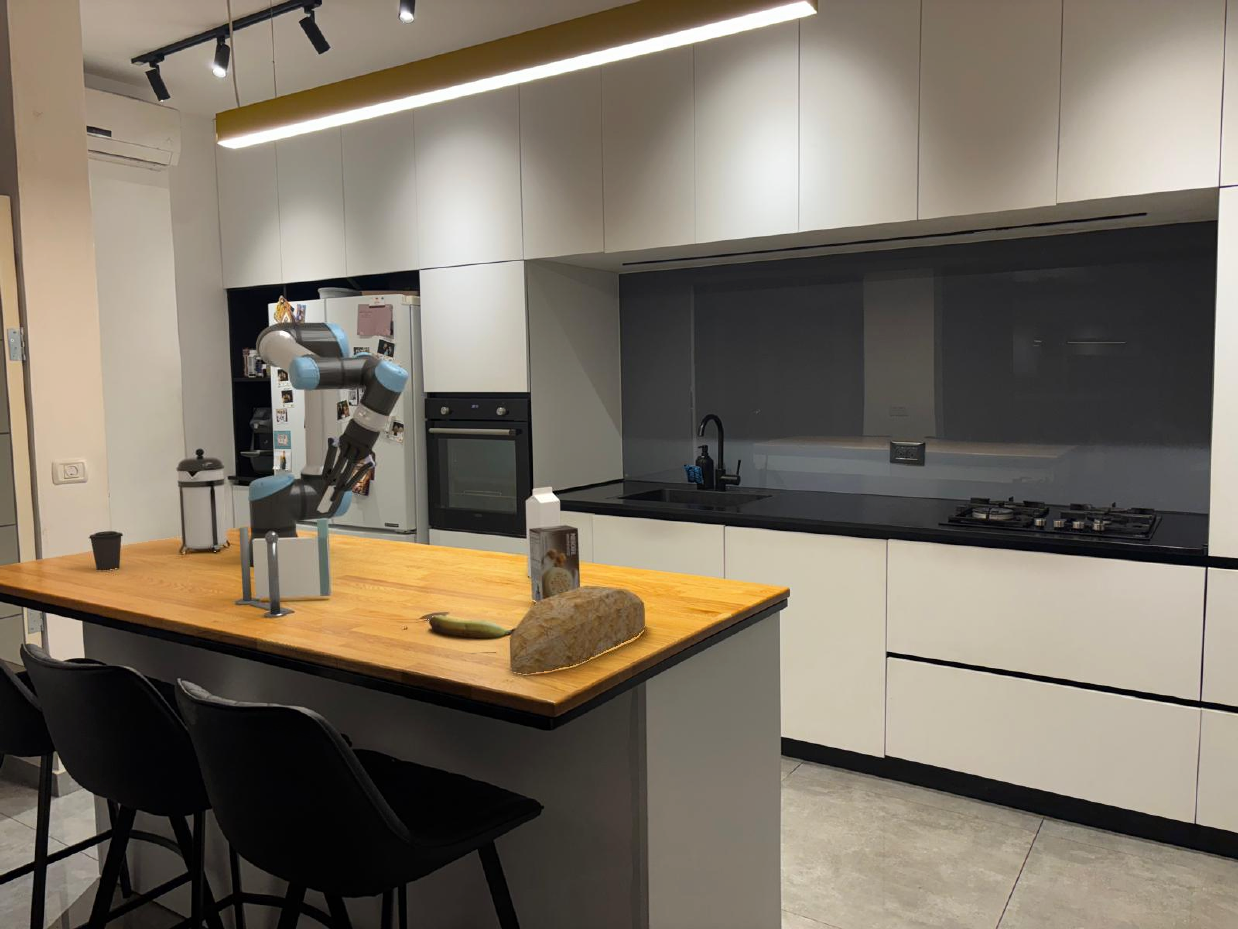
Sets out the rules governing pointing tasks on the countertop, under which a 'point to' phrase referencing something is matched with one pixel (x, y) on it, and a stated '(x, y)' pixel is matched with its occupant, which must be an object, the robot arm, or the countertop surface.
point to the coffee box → (554, 561)
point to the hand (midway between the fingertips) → (322, 510)
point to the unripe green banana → (464, 627)
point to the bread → (575, 628)
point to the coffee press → (202, 503)
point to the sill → (259, 604)
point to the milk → (541, 514)
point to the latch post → (273, 575)
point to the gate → (289, 565)
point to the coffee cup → (106, 549)
